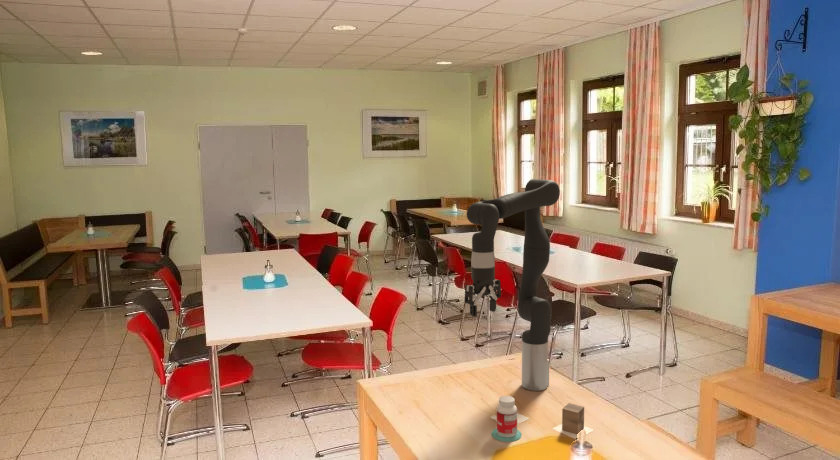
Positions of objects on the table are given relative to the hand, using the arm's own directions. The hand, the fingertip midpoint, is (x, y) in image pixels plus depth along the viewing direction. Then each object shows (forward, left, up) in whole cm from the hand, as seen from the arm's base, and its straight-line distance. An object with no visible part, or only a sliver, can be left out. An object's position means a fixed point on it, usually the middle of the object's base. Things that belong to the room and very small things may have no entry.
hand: (483, 313), depth 194 cm
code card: (-2, +10, -33) cm, 35 cm away
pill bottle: (+7, +17, -33) cm, 38 cm away
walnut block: (-11, +28, -33) cm, 45 cm away
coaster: (+7, +17, -33) cm, 38 cm away
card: (-11, +28, -33) cm, 45 cm away
